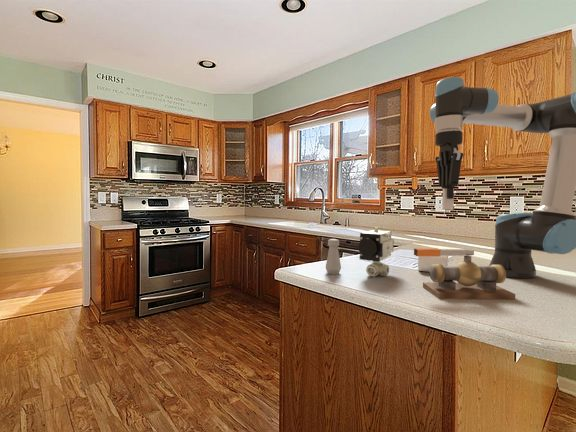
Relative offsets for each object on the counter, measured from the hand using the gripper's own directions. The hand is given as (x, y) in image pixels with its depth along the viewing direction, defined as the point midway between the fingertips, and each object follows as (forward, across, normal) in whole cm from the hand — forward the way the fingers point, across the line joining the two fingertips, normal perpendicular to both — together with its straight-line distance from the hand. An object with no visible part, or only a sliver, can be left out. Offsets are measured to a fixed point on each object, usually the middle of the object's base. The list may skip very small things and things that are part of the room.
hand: (447, 209), depth 105 cm
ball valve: (+25, +20, +17) cm, 36 cm away
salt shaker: (+25, +23, +32) cm, 47 cm away
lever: (+14, -2, +2) cm, 14 cm away
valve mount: (+26, -2, -5) cm, 26 cm away
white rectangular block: (+26, +28, -8) cm, 39 cm away
